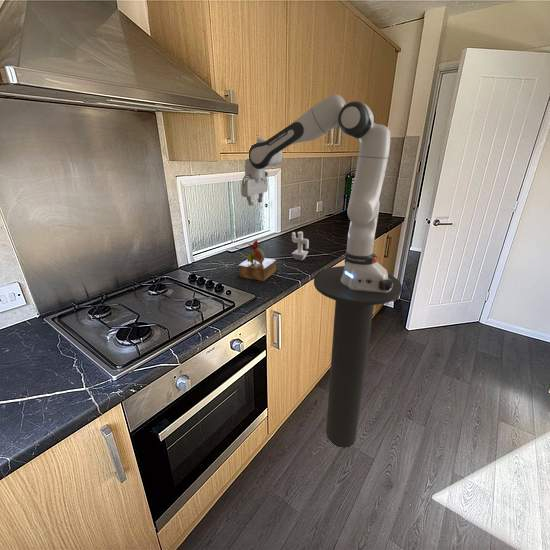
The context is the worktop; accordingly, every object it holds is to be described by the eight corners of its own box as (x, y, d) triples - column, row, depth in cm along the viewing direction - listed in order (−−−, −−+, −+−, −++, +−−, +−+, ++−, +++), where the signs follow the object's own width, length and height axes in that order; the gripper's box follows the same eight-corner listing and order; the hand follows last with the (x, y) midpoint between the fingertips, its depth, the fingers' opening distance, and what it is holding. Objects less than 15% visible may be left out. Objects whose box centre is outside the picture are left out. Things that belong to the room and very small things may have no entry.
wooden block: (276, 271, 145) (276, 259, 143) (264, 281, 134) (263, 269, 131) (252, 267, 150) (252, 256, 148) (238, 276, 139) (237, 265, 137)
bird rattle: (265, 265, 141) (251, 255, 144) (272, 246, 135) (257, 236, 138) (257, 269, 137) (243, 259, 140) (263, 250, 130) (249, 240, 133)
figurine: (305, 262, 156) (306, 234, 150) (289, 259, 160) (289, 232, 154) (310, 257, 162) (311, 231, 156) (294, 255, 166) (295, 229, 160)
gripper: (249, 176, 128) (250, 207, 133) (269, 172, 145) (270, 201, 150) (236, 175, 130) (238, 207, 136) (258, 172, 147) (259, 200, 153)
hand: (255, 203), depth 143 cm, fingers open, 8 cm apart
